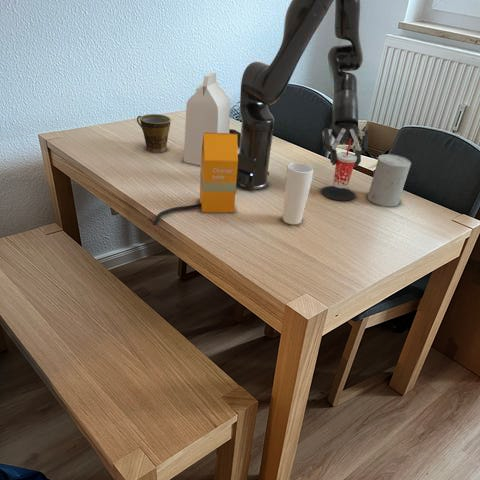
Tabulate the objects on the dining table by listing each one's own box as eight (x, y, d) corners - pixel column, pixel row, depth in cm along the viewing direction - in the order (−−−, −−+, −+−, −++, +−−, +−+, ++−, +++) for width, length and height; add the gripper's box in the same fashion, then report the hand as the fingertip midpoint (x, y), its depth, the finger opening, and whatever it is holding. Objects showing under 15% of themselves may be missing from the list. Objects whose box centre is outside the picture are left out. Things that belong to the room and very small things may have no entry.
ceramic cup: (176, 149, 164) (176, 119, 158) (157, 156, 157) (157, 125, 151) (148, 139, 169) (146, 110, 163) (128, 146, 162) (126, 116, 156)
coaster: (345, 204, 141) (345, 203, 141) (315, 193, 145) (316, 192, 145) (359, 194, 148) (359, 193, 147) (331, 184, 152) (331, 183, 152)
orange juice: (233, 212, 131) (240, 139, 118) (201, 212, 129) (205, 137, 117) (229, 199, 137) (235, 128, 124) (199, 199, 135) (201, 127, 122)
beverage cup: (351, 190, 143) (363, 143, 134) (331, 188, 142) (341, 141, 133) (348, 181, 147) (359, 136, 138) (328, 180, 147) (338, 134, 138)
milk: (216, 168, 154) (221, 81, 137) (183, 161, 156) (184, 74, 140) (228, 157, 163) (234, 73, 146) (197, 150, 165) (200, 67, 149)
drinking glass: (306, 218, 132) (316, 165, 122) (300, 229, 127) (310, 174, 117) (283, 213, 133) (291, 160, 124) (276, 223, 128) (284, 169, 119)
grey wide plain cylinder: (363, 192, 149) (374, 153, 142) (392, 193, 150) (404, 155, 143) (372, 205, 142) (384, 165, 134) (403, 207, 143) (416, 167, 135)
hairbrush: (233, 122, 183) (272, 141, 167) (233, 132, 185) (271, 151, 169) (215, 125, 179) (252, 143, 163) (215, 135, 182) (252, 154, 165)
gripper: (325, 101, 137) (325, 157, 136) (373, 105, 139) (374, 160, 137) (318, 115, 145) (318, 168, 143) (364, 118, 146) (364, 171, 144)
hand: (345, 164), depth 140 cm, fingers closed on beverage cup, 6 cm apart
